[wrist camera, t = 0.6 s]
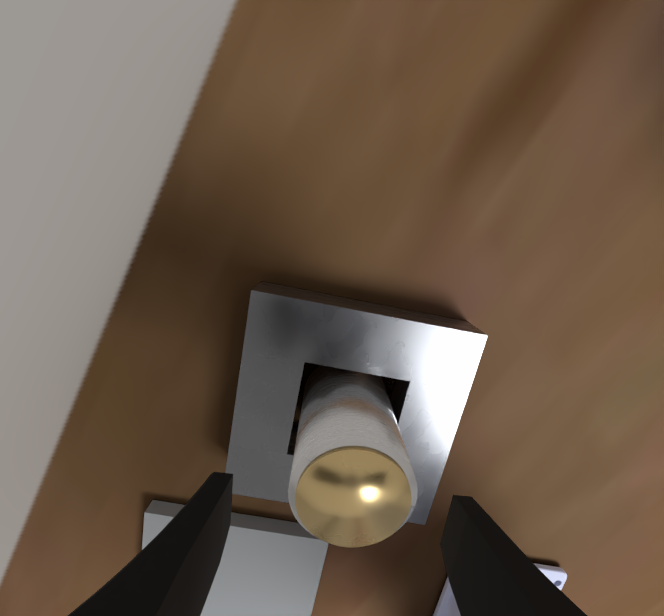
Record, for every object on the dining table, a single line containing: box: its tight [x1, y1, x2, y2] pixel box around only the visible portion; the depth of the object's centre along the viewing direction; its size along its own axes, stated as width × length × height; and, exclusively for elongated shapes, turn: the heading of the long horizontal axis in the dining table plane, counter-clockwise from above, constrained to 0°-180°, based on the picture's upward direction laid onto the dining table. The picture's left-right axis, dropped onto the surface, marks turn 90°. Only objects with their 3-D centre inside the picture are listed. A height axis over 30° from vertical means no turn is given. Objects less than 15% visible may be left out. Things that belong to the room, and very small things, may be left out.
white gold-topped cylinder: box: [288, 365, 418, 547], centre depth 16 cm, size 5×5×8 cm
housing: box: [225, 282, 488, 525], centre depth 19 cm, size 12×12×2 cm
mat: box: [142, 500, 329, 616], centre depth 23 cm, size 12×12×1 cm
